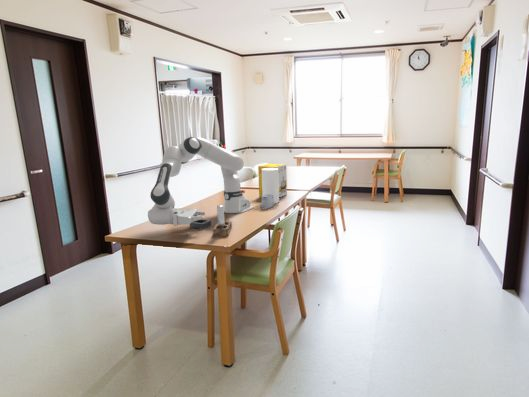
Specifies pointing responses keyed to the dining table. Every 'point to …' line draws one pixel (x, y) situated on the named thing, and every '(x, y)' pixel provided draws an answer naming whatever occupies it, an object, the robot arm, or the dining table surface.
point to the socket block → (200, 223)
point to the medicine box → (267, 201)
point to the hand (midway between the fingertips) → (203, 215)
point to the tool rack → (222, 229)
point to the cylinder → (270, 183)
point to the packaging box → (281, 178)
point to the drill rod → (220, 216)
